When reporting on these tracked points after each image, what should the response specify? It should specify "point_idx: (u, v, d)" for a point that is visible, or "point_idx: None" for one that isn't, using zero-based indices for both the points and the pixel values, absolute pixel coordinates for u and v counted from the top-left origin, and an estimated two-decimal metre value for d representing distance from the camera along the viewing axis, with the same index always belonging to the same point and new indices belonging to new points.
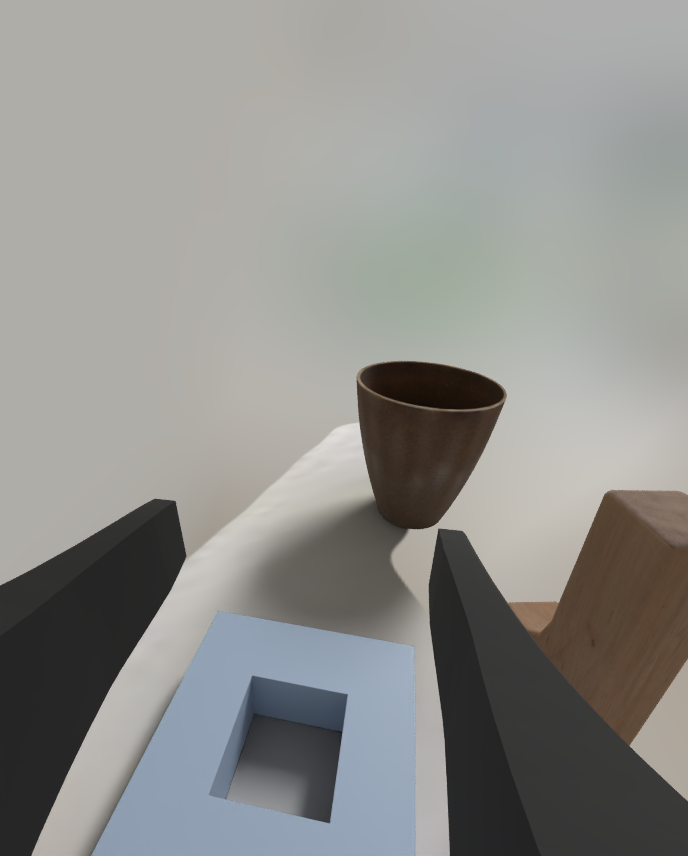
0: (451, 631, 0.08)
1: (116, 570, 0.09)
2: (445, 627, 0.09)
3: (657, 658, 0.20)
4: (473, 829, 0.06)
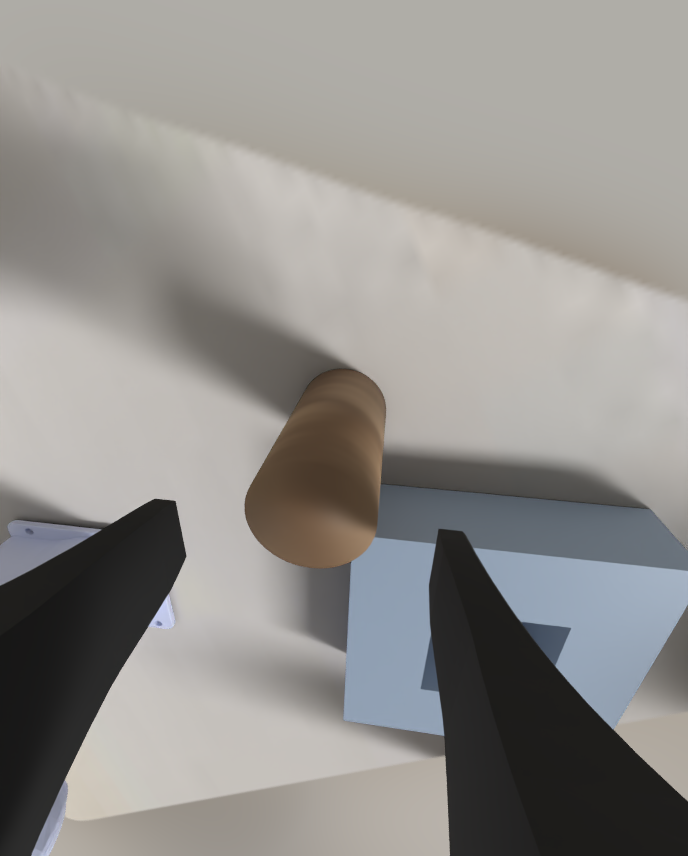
0: (451, 631, 0.08)
1: (116, 570, 0.09)
2: (445, 627, 0.09)
3: None
4: (473, 829, 0.06)
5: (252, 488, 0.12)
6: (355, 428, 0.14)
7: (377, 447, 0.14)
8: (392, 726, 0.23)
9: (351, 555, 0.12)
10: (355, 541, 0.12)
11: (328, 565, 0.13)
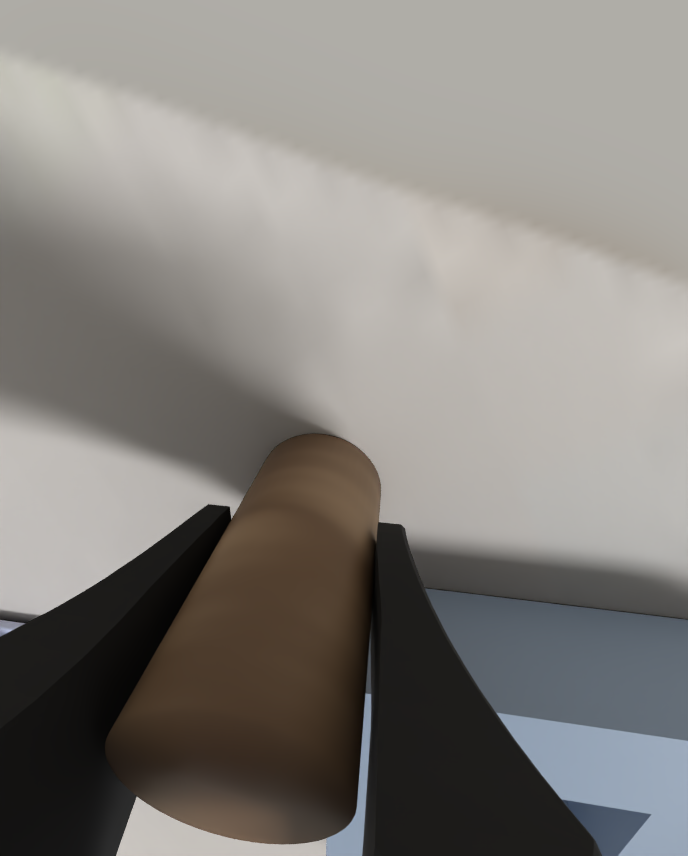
0: (376, 621, 0.08)
1: (182, 578, 0.09)
2: (374, 618, 0.09)
3: None
4: (368, 811, 0.06)
5: (114, 736, 0.06)
6: (324, 575, 0.08)
7: (363, 598, 0.08)
8: None
9: (311, 835, 0.07)
10: (317, 820, 0.06)
11: (273, 835, 0.07)
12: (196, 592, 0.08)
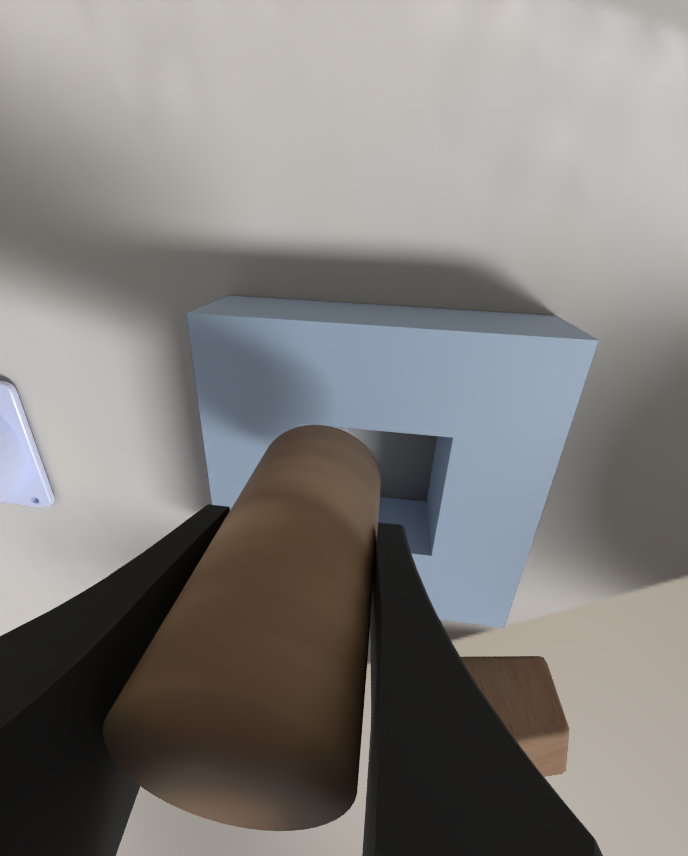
0: (376, 621, 0.08)
1: (182, 578, 0.09)
2: (374, 618, 0.09)
3: None
4: (368, 811, 0.06)
5: (110, 723, 0.06)
6: (315, 556, 0.08)
7: (359, 578, 0.08)
8: None
9: (317, 818, 0.07)
10: (320, 802, 0.06)
11: (282, 822, 0.07)
12: (189, 582, 0.08)
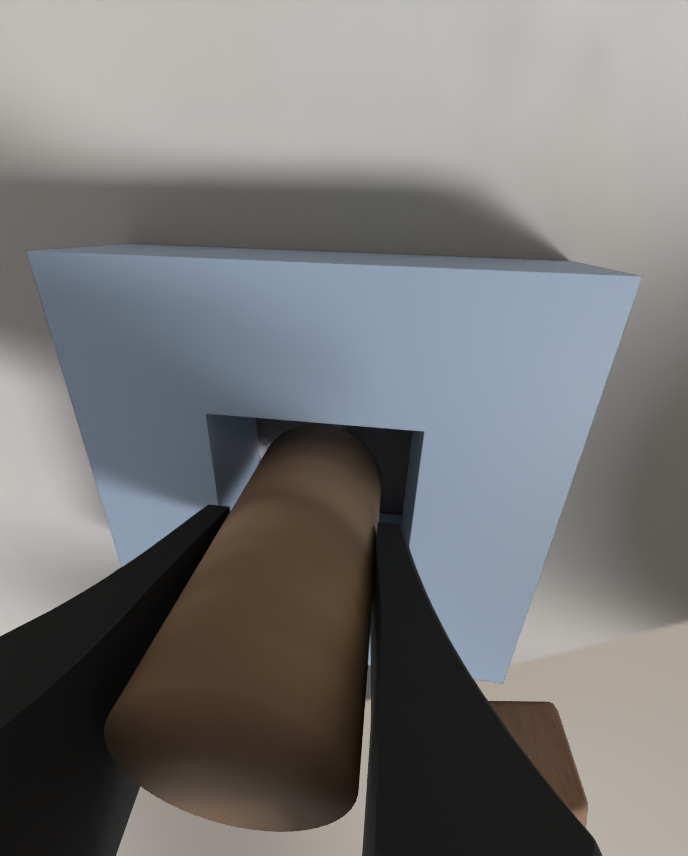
0: (376, 621, 0.08)
1: (182, 578, 0.09)
2: (374, 618, 0.09)
3: None
4: (368, 811, 0.06)
5: (111, 724, 0.06)
6: (316, 556, 0.08)
7: (360, 578, 0.08)
8: None
9: (319, 819, 0.07)
10: (321, 802, 0.06)
11: (283, 822, 0.07)
12: (190, 582, 0.08)
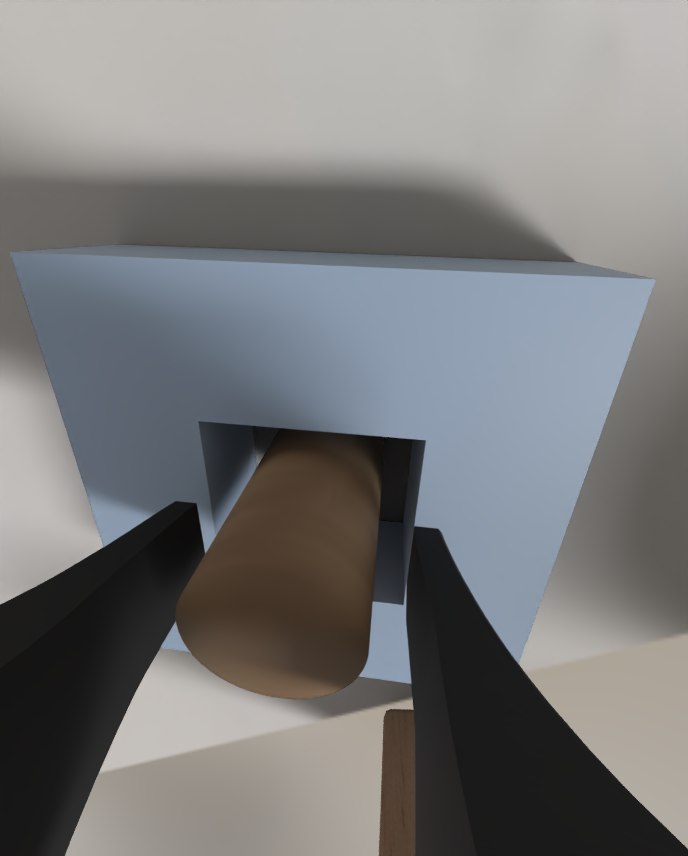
0: (421, 627, 0.08)
1: (142, 573, 0.09)
2: (417, 623, 0.09)
3: None
4: (431, 822, 0.06)
5: (182, 603, 0.08)
6: (333, 490, 0.10)
7: (368, 511, 0.10)
8: None
9: (338, 683, 0.09)
10: (340, 666, 0.08)
11: (309, 692, 0.09)
12: (233, 510, 0.10)
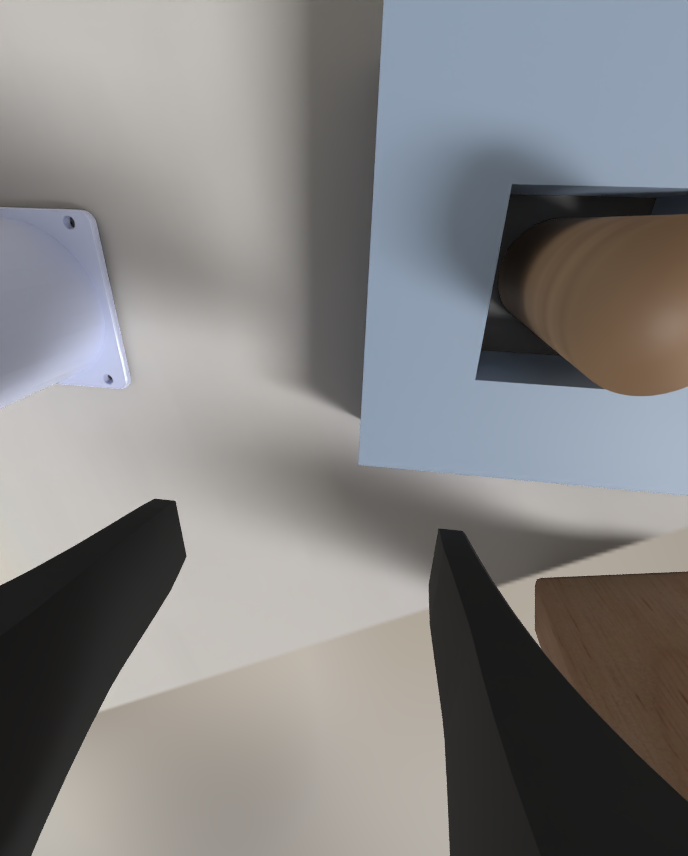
0: (451, 631, 0.08)
1: (116, 570, 0.09)
2: (445, 627, 0.09)
3: None
4: (473, 829, 0.06)
5: (591, 277, 0.09)
6: None
7: None
8: (428, 468, 0.16)
9: None
10: None
11: (665, 391, 0.10)
12: (575, 242, 0.11)
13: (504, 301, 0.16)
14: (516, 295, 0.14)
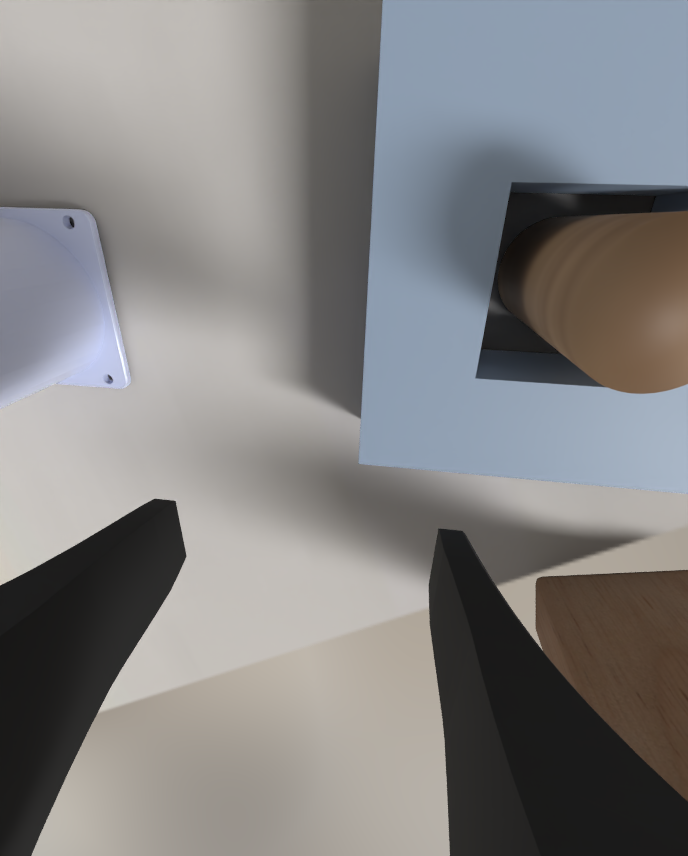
0: (451, 631, 0.08)
1: (116, 570, 0.09)
2: (445, 627, 0.09)
3: None
4: (473, 829, 0.06)
5: (591, 275, 0.09)
6: None
7: None
8: (428, 467, 0.16)
9: None
10: None
11: (666, 388, 0.10)
12: (575, 240, 0.11)
13: (504, 299, 0.16)
14: (516, 293, 0.14)
